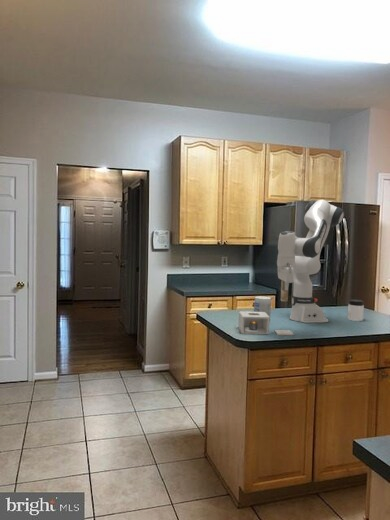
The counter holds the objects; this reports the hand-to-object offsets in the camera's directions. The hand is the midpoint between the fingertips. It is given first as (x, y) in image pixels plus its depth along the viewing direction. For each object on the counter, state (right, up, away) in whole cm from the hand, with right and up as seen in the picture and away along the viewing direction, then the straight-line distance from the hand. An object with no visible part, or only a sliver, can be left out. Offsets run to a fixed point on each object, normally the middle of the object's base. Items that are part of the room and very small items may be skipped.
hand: (285, 289), depth 211 cm
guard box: (-15, -22, +6) cm, 28 cm away
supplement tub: (-8, -21, +26) cm, 35 cm away
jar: (+52, -22, +41) cm, 70 cm away
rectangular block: (0, -6, 0) cm, 6 cm away
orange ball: (-15, -22, +6) cm, 27 cm away
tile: (0, -23, +1) cm, 23 cm away
